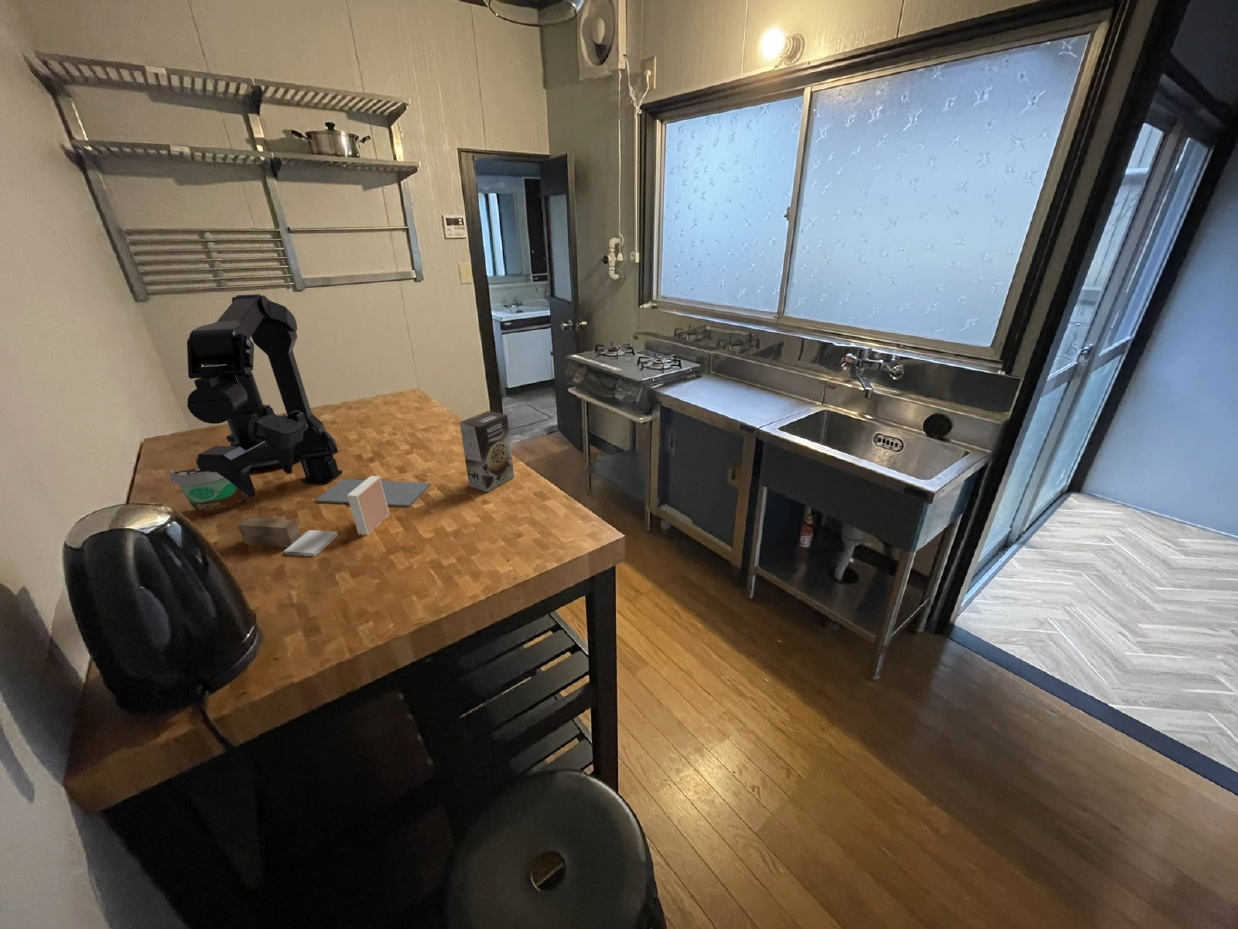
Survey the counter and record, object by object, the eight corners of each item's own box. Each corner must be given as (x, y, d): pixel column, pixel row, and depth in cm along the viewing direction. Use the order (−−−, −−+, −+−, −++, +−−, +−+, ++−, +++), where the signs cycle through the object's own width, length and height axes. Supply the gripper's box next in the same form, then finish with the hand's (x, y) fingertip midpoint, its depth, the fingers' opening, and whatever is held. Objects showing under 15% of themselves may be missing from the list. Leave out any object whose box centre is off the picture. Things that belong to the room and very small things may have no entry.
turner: (236, 551, 93) (227, 531, 91) (264, 530, 99) (256, 511, 97) (314, 556, 91) (307, 536, 89) (338, 535, 97) (332, 515, 95)
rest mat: (315, 502, 109) (315, 500, 108) (343, 480, 118) (342, 479, 117) (409, 506, 106) (409, 504, 106) (430, 484, 115) (430, 483, 115)
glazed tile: (358, 534, 97) (346, 495, 93) (380, 513, 104) (370, 475, 100) (368, 535, 97) (357, 495, 93) (389, 513, 104) (380, 476, 100)
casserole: (315, 434, 144) (307, 407, 140) (340, 452, 133) (332, 423, 129) (212, 463, 128) (199, 433, 124) (230, 485, 116) (217, 453, 113)
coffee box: (488, 493, 111) (478, 427, 104) (468, 486, 115) (457, 421, 107) (515, 477, 118) (508, 414, 111) (496, 471, 121) (488, 409, 114)
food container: (180, 524, 101) (159, 481, 97) (187, 510, 106) (168, 469, 102) (251, 509, 106) (234, 468, 102) (255, 496, 111) (239, 456, 107)
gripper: (242, 424, 74) (275, 512, 81) (321, 388, 91) (343, 463, 98) (176, 422, 75) (213, 510, 82) (265, 387, 92) (291, 462, 99)
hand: (271, 484), depth 90 cm, fingers open, 9 cm apart
